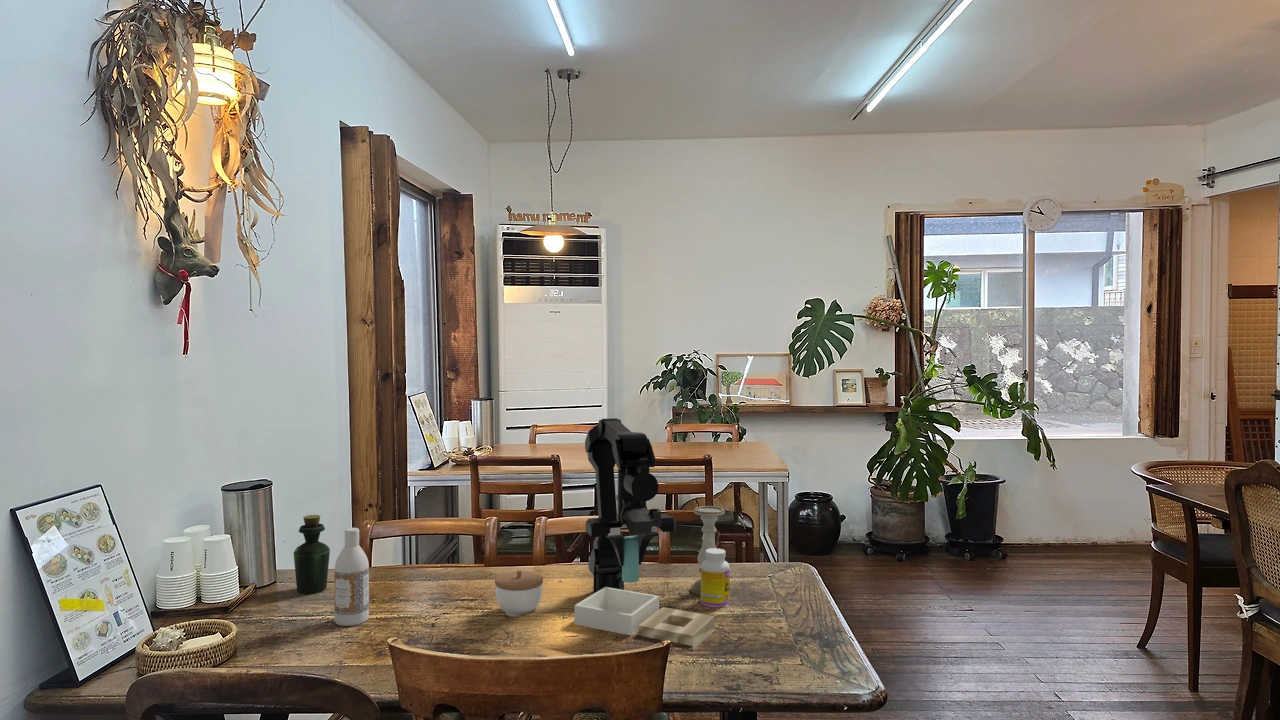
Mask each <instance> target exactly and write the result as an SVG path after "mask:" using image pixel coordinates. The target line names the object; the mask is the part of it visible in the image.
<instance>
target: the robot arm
mask: <svg viewBox="0 0 1280 720" xmlns="http://www.w3.org/2000/svg"><path fill="white" fill-rule="evenodd" d="M584 448H585V452H586V453H587V459H588V462H589V463H590V465H591V466H592V468H593V469H594V472H595V487H596V499H597V502H596V503H597V516H598V517H590V518H588V519H587V520H586V521H585V532H586V533H587V534H588V535H589V536H590V537H591V538H595V539H594V540H593V543H592V544H593V547H592V549H591V552H590V555H589V558H588V570H589V572H590V573H591V574H592V575H593V589H592V590H593V594H594V593H596V592H598V591H599V590H601V589H603V588H604V587H609V588H615V589H621V590H625V582H623V581H622V566H623V563H624V557H623V544H622V542H623V537H625V536H626V535H624V534H622V532H621V531H625V530H627V531H628V533H629V534H630V536H637V537H639V566H641V565H642V563H643V560H644V556H645V553H646V551H647V549H648V546H649V544H650V542H651V541H652V539H654V538H656V537H658V536H659V533H658V532H657V529H659V530H660V531H661V532H662V533H671V532H676V530H677V529H676V528H677V527H676V526H677V523H676V520H675V518H674V517H673V516H671V515H669V514H668V513H662V511H661V509H660V508H659V507H657V508H650V509H649V508H648V507H647V502H648V501H651V500H653V498H655V497H656V495H657V494H658V492H659V487H660V486H659V482H658V480H657V478H656V477H655V475H653V474H652V473H650V468H655V461H656V455H655V453H654V449H653V446H652V443H651V442H650V439H649V438H648V436H647V434H645V433H643V432H639V431H638V432H637V431H634V432H633V431H631V430H630V429H629V428H628V427H626V426H625V425H624V424H623V423H622V421H621V419H620V418H602V419H599V420H598V423H597V424H596V425H594V427H592V428H591V429H590V430H588V432H587V435H586V438H585V441H584ZM615 466H616V467H617V494H616V483H615V479H616V478H615Z"/></svg>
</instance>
